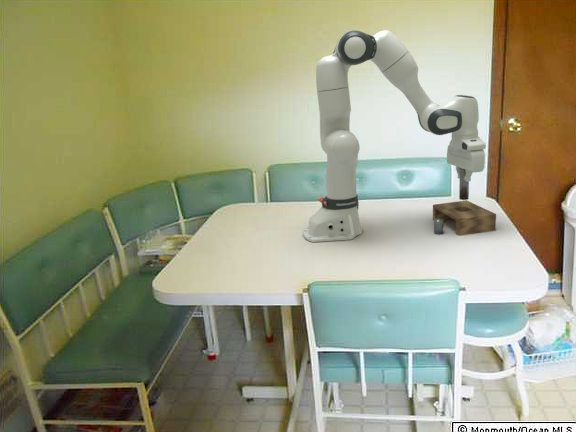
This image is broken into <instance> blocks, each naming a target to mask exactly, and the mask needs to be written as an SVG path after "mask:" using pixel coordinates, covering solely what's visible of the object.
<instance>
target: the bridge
mask: <svg viewBox="0 0 576 432" xmlns="http://www.w3.org/2000/svg"><path fill="white" fill-rule="evenodd" d="M437 218H440V219H443V221H444V220H445V221H446V220H451V219H453V220H454V221H455V234H456V235H457V236H463V235H471V234H476V233H478V234H479V233H486V232H491V231H496V226H497V225H496V223H497V213H494V212H492V211H490V210H489V209H486V208H485V207H482V206H480V205H479V204H476V203H474V202H471V201H469V200H458V201H453V202H452V201H451V202H444V203H435V204H432V220H433V221H434V219H437Z"/></svg>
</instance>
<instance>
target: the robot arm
mask: <svg viewBox="0 0 576 432" xmlns="http://www.w3.org/2000/svg"><path fill="white" fill-rule="evenodd" d="M368 61H371V62H373V64H375V66H376V67H377V68H378V70H380V73H382V74H383V76H384V77H385V78H386V80H388V82H390V84H392V85H393V86H394V87H395V88H397V90H399V91H400V92H402V94H403V95H404V97H406V99H407V100H408V102H409V103H410V104H411V106H412V107H413V109H414V110H415V112H416V114H417V119H418V120H417V121H418V122H419V126H420V127H421V129H423V130H424V131H426V132H427V133H431V134H433V135H436V136H443V135H447V134H451V140H450V141H449V144H448V145H447V151H446V163H447V164H448V165H452V166H454V167H455V170H456V173H457V179H459V180H460V168H463V169H465V172H466V176H464V181H466V182H471V180H472V175H473V173H482V172H483V171H484V169H485V163H486V153H485V149H486V148H487V145H486V142H485V141H484V140H482V138H481V137H480V136H479V129H478V123H479V117H480V116H479V114H480V113H479V112H480V111H479V103H478V100H477V98H476V97H474V96H473V95H465V94H457V95H454V96H453V97H452V98H451V99H450V100H449V101H447V102H445V103H443V104H441V105H439V104H437V103H435V102H433V101H432V100H431V97H430V96H429V95H428V94H427V93H426V91H425V89H424V88H423V87H422V85H421V83H420V81H419V78H418V76H419V75H418V73H419V67H418V64H417V62H416V60H415V58H414V56H413V55H412V53H411V52H410V50H409V49H408V48H407V46H406V45H405V44H404V43H403V42H402V41H401V40H400V39H399V38H398V36H397V35H395V34H394V33H393V32H392V31H391V30H387V29H384V30H380V31H378V32H377V33H375V34H374V35H371V34H368V33H366V32H363V31H360V30H348V31H346V32H344V33H343V34H342V35H340V37H339V39H338V40H337V43H336V45H335V47H334V51H333V52H332V54H331V55H330V54H329V55H326V56H323V57H322V58H320V59H319V60H318V61H317V64H316V69H315V70H316V72H315V74H316V75H315V79H316V80H315V84H316V93H317V94H316V95H317V102H318V110H319V111H318V112H319V135H320V146H321V148H322V151H323V152H324V153H325V154H326V157H327V159H326V160H327V164H326V173H325V186H326V187H325V188H326V191H325V192H326V196H325V197H323V196H319V198H318V202H320V204H321V207H320V208H319V209H318V210H317V211H315V213H313V214H312V215H311V216H310V217H309V219H308V227H307V228H304V229H303V230H302V237H303V238H304V239H305V240H306V241H309V242H312V243H319V242H321V243H322V242H335V241H349V240H354V239H355V237H357V236H359V235H361V234H362V233H363V228H362V225H361V222H360V217H359V195H358V194H357V167H358V159H359V157H358V156H359V154H360V152H359V151H360V143H359V139H358V138H357V136H356V135H355V134H354V133H353V132H352V131H351V130H350V122H351V120H350V119H351V118H350V117H351V111H352V108H351V98H350V96H351V95H350V88H349V80H348V79H349V76H348V74H349V69H350V68H351V67H352V66H357V65H360V64H363V63H365V62H368Z"/></svg>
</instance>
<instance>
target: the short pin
mask: <svg viewBox="0 0 576 432" xmlns="http://www.w3.org/2000/svg"><path fill="white" fill-rule="evenodd" d="M433 233H434V234H435V235H443V234H444V220H443V219H440V218H437V219H434V220H433Z"/></svg>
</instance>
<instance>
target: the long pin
mask: <svg viewBox="0 0 576 432" xmlns="http://www.w3.org/2000/svg"><path fill="white" fill-rule="evenodd" d="M464 176H466V172H465V169H463V168H460V179H459V187H458V188H459V191H458V193H459V194H458V196H459V198H458V199H459V201H465V200H467V201H469V198H470V197H469V193H470V183H469V182H470V181H469V182H466V181H464Z"/></svg>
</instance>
